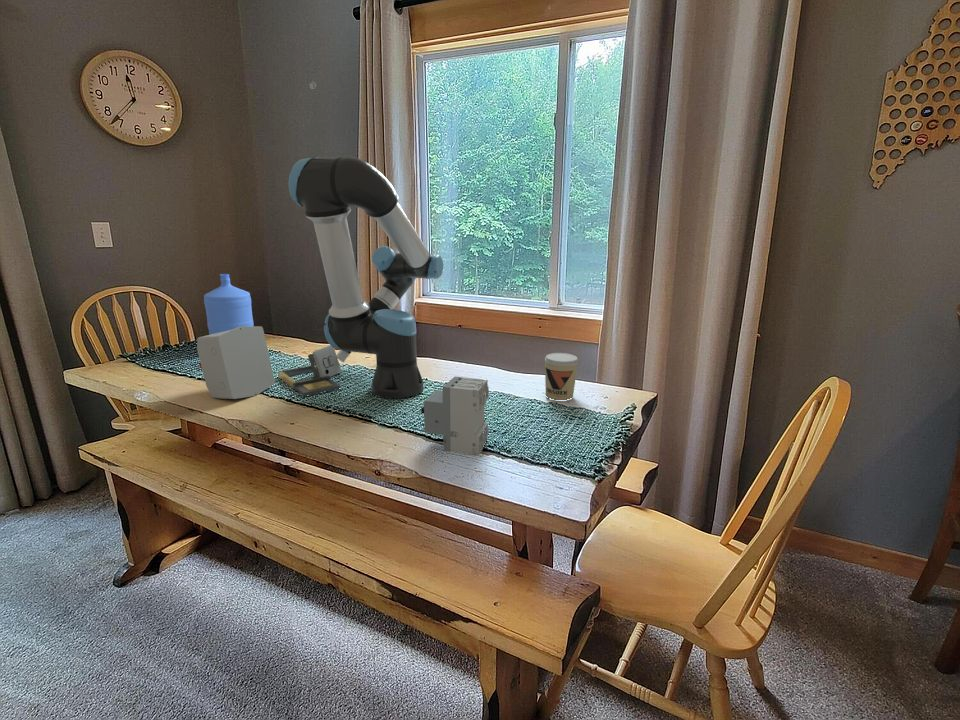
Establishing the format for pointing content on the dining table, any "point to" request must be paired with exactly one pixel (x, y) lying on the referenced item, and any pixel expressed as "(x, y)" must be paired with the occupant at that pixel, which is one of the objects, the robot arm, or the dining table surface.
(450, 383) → the circuit breaker
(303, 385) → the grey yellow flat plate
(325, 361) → the electrical switch
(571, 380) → the coffee cup
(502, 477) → the dining table surface
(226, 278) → the water jug
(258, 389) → the electrical switch box
